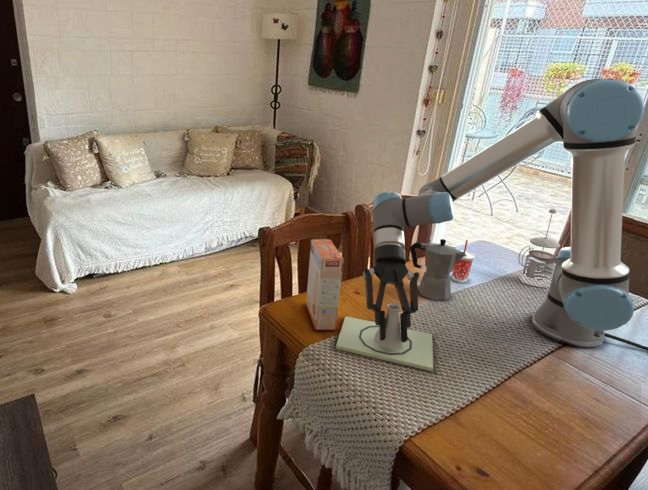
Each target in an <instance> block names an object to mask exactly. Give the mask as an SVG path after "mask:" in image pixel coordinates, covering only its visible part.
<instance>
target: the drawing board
mask: <svg viewBox="0 0 648 490" xmlns="http://www.w3.org/2000/svg"><path fill="white" fill-rule="evenodd" d="M379 328H380V325H376V324H375V321H371V320H366V319H361V318H356V317H353V316H347V315H345V317H344V320H343V322H342V326H341V328H340V332H339V335H338V338H337V341H336V345H335V349H336V350H340V351H343V352H348V353H353V354H357V355H361V356H365V357H368V358H374V359H377V360H381V361H386V362H389V363H394V364H399V365H401V366H402V365H403V366H407V367H411V368H416V369H420V370H424V371H428V372H433V371H434V349H433V348H434V347H433V346H434V345H433V334H432V333H429V332H424V331H419V330H414V329H410V328H407V337H408V340H407V341H406V342H404V348H403V349H398V350H390V349H385V348H381V347H379V345H378V344H377V343H376V342H375V341H374V338H375V334H376V332H377V331H378V329H379Z"/></svg>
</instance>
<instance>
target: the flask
mask: <svg viewBox="0 0 648 490" xmlns="http://www.w3.org/2000/svg"><path fill="white" fill-rule="evenodd" d="M386 309H387V313H386V314H385V333H386V338H385V339H384V340H380V328H379V329H378V331H377V332H376V334H375V338H374V341H375V342H376V343H377V344H378V345H379V347H381V348H385V349H390V350H398V349H403V348H404V342H401V325H400V315H399V314H400V312H401V311H402V308H401V305H399V304H397V303H393V302H391V303H387V304H386Z"/></svg>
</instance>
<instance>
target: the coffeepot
mask: <svg viewBox="0 0 648 490" xmlns="http://www.w3.org/2000/svg"><path fill="white" fill-rule="evenodd" d="M439 241H440V243H437V242H436V243H435V242H432V243H424V242H417V241H416V242H414V243H413V244H412V245H410V246H409V252H410V255H411V260H412V266H413V267H414V268H417V269H421V268H422V265H421V264H418V260H419V259H418V257H417V250H416V249H419V250H421V251H424V266H425V268H426V269H425V271H424V272H423V274H422V277H421V281H420V283H419V286H418V287H417V289H418V293H419V294H420V295H421V296H423V297H425V298H427V299H429V300H434V301H446V300H448V299H449V298H450V297H452V291H451V289H452V288H451V286H452V285H451V283H452V282H451V273H452V271H453V268H454V265H455V264H456V263H457V262H458V261H459V260H460V259H461V258H462V257H464V256H466V254H465V253H464V252H462V251H463V250H459V249H457V248H456V247H455V246H452V245H449V244H446V243H447V240H446V239H443V238H441V239H440V240H439Z"/></svg>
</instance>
